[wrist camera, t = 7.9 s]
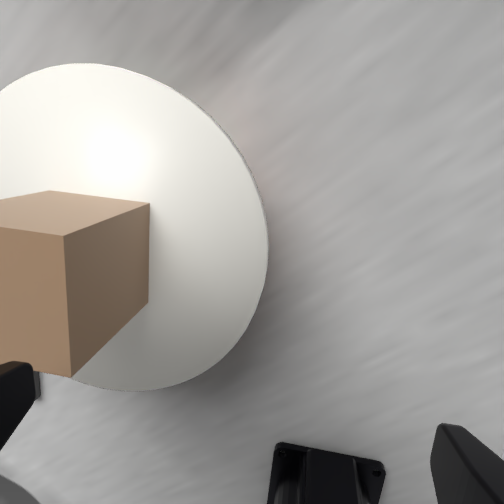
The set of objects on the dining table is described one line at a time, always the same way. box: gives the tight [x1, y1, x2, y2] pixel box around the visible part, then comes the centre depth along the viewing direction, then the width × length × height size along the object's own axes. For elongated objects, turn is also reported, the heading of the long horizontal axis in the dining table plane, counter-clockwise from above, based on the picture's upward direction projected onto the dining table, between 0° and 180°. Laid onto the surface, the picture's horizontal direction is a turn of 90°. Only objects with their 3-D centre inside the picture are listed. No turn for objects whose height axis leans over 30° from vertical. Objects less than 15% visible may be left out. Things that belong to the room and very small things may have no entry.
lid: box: [0, 64, 269, 391], centre depth 13 cm, size 13×13×6 cm
